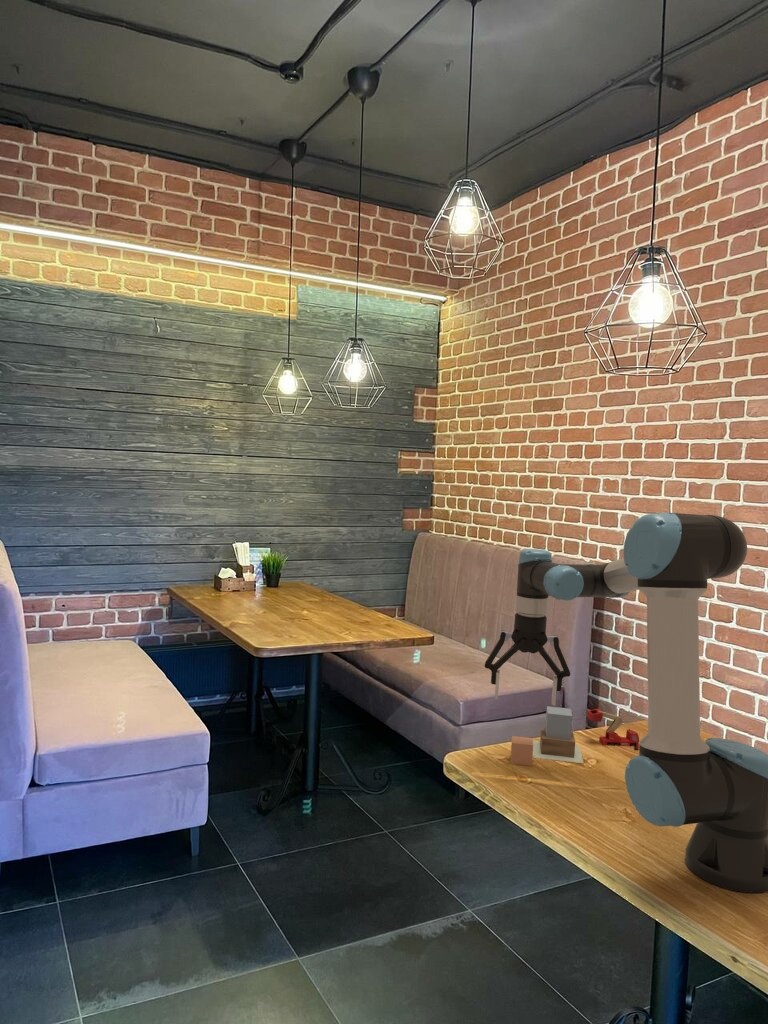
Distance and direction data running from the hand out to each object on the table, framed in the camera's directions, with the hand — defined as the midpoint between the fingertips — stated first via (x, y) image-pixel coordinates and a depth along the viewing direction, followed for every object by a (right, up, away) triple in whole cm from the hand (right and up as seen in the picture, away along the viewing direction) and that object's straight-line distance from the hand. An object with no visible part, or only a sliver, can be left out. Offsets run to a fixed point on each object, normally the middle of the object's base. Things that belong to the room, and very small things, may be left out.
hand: (524, 700), depth 183 cm
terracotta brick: (-1, -16, +1) cm, 16 cm away
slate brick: (+10, -11, +9) cm, 17 cm away
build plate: (+10, -16, +8) cm, 20 cm away
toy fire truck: (+26, -17, +16) cm, 35 cm away
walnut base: (+10, -15, +9) cm, 20 cm away
